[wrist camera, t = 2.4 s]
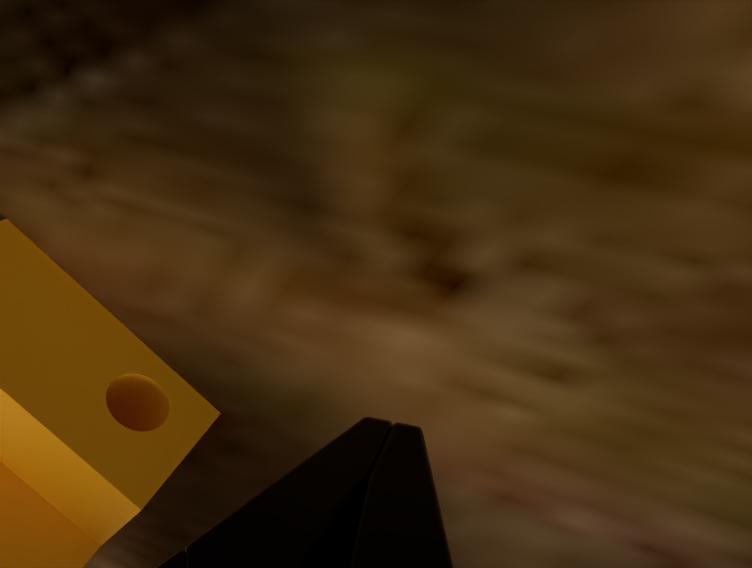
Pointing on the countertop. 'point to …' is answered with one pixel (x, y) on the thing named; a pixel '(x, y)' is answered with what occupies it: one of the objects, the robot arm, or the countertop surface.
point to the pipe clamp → (78, 415)
